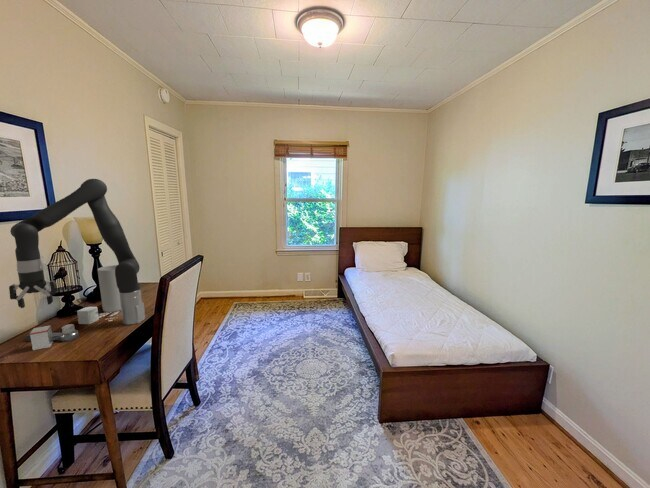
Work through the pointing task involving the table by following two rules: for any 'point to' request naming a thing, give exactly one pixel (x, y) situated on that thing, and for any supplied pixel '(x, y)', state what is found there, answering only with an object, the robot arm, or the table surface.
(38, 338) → the white rectangular block
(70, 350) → the table surface
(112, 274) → the cylinder vase
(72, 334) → the ratchet
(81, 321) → the skincare box
